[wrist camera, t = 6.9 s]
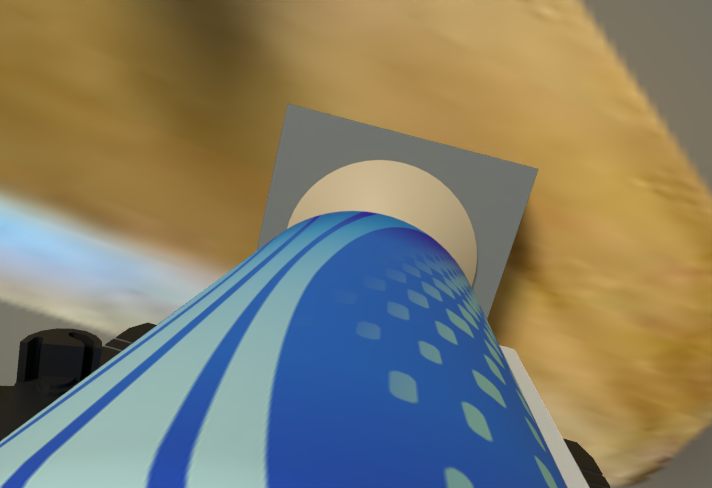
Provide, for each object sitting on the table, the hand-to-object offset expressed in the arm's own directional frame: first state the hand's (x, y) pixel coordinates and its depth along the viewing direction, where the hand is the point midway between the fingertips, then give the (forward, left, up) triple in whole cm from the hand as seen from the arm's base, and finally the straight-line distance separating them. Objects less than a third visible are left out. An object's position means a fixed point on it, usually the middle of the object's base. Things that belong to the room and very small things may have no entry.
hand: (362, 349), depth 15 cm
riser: (0, 0, -17) cm, 17 cm away
